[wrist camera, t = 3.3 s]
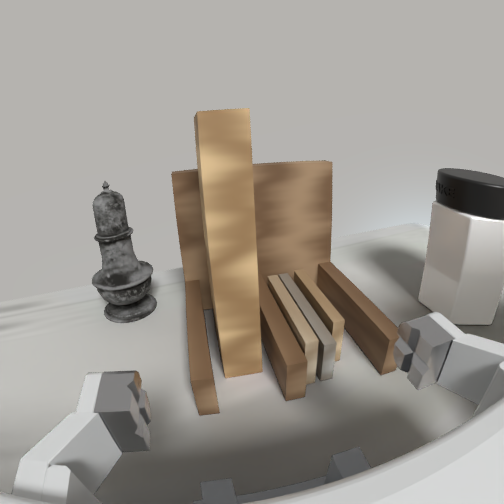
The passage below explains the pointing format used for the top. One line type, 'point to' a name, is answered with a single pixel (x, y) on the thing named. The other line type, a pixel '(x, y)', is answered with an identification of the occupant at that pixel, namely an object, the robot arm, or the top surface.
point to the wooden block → (230, 235)
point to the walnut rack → (277, 273)
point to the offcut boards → (310, 321)
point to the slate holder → (341, 466)
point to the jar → (465, 247)
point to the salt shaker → (120, 263)
